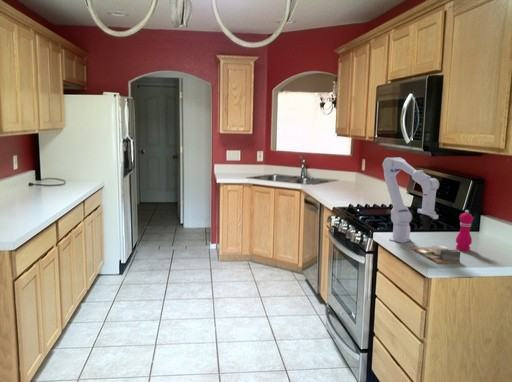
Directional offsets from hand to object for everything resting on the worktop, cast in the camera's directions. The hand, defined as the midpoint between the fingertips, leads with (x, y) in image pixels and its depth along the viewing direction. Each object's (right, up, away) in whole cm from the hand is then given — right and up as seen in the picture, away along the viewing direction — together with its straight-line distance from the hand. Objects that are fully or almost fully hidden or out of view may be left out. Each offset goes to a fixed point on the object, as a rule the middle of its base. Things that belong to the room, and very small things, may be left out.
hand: (425, 230), depth 220 cm
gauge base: (0, -11, -10) cm, 15 cm away
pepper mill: (+19, -10, +2) cm, 22 cm away
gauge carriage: (+1, -10, -11) cm, 15 cm away
